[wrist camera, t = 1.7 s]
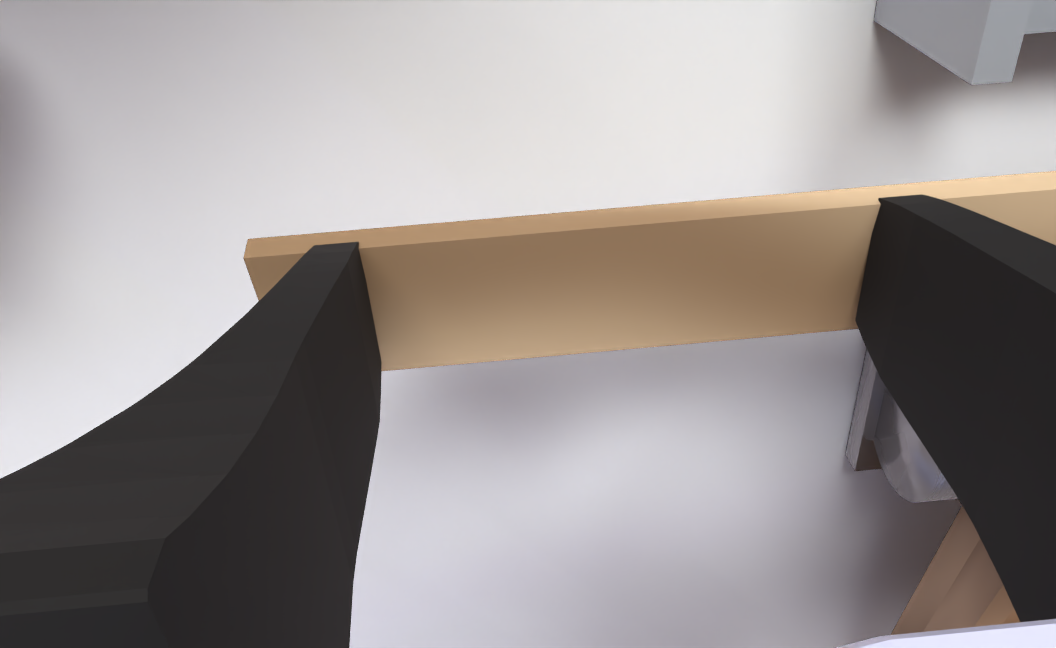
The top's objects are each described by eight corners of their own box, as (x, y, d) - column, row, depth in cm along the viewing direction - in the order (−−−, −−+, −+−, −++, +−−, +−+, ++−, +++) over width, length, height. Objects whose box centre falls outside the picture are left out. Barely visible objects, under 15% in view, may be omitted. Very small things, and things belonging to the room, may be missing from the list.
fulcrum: (1120, 428, 22) (1213, 524, 19) (845, 454, 21) (900, 554, 19) (1186, 278, 19) (1303, 364, 17) (875, 305, 19) (944, 397, 16)
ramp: (1046, 655, 24) (1082, 722, 23) (414, 719, 23) (413, 791, 22) (1515, 115, 12) (1645, 191, 11) (241, 221, 11) (218, 315, 10)
